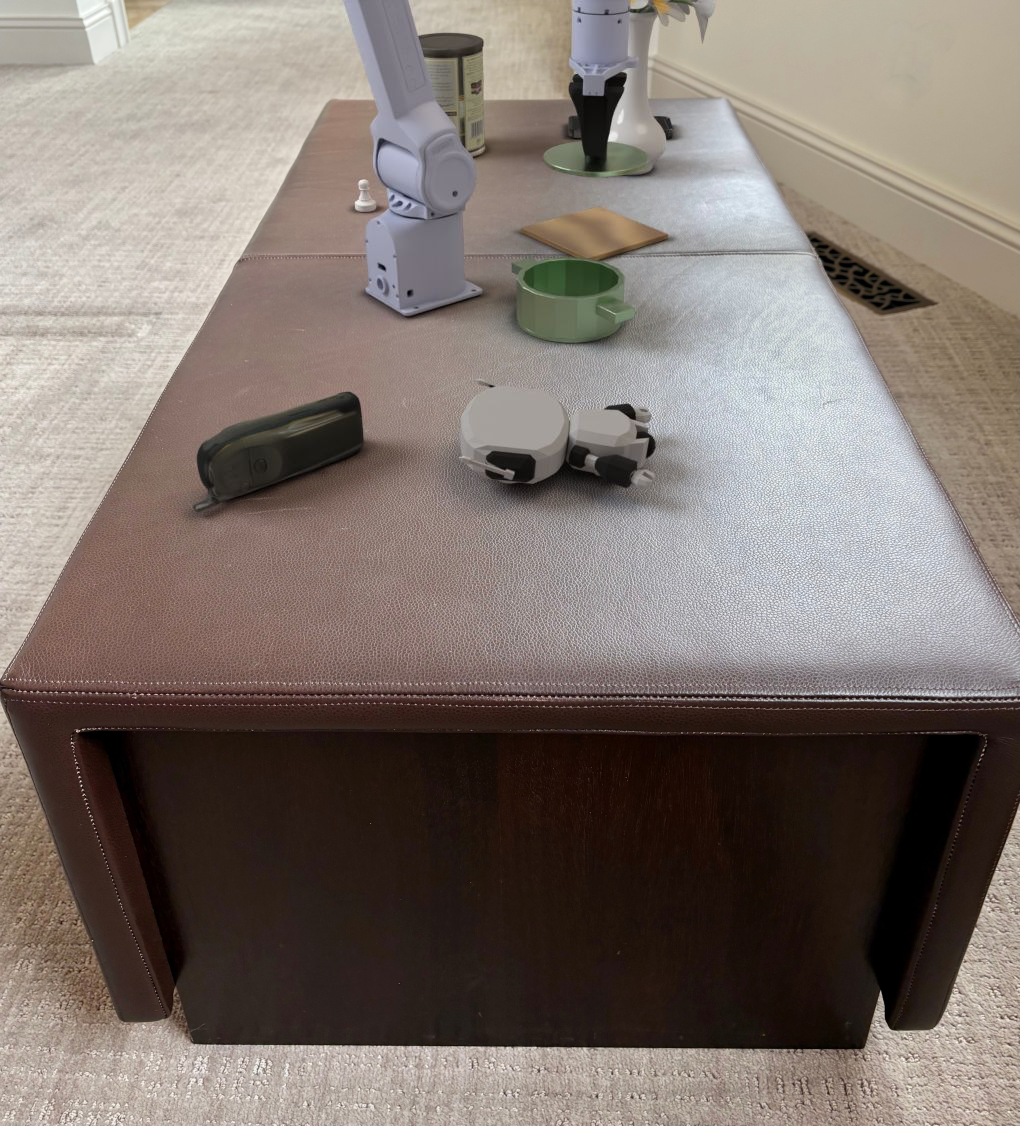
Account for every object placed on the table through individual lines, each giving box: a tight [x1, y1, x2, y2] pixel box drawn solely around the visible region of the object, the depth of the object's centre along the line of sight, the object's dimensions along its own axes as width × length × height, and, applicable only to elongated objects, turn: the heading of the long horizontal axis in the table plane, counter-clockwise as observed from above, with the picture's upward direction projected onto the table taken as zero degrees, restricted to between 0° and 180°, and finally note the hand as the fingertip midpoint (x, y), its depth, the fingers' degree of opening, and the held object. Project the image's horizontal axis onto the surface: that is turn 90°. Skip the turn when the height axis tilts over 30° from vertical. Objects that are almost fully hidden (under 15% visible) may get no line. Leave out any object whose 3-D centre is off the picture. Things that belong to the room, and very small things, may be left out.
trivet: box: [520, 205, 669, 261], centre depth 123 cm, size 12×12×1 cm
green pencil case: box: [192, 391, 365, 513], centre depth 80 cm, size 5×3×15 cm
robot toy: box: [457, 378, 657, 490], centre depth 82 cm, size 12×4×15 cm
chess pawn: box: [354, 179, 377, 213], centre depth 129 cm, size 3×3×4 cm
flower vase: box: [608, 0, 717, 176], centre depth 135 cm, size 13×18×25 cm
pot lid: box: [542, 140, 648, 179], centre depth 113 cm, size 11×11×5 cm
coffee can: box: [418, 32, 486, 158], centre depth 146 cm, size 10×10×14 cm
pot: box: [511, 256, 636, 344], centre depth 103 cm, size 10×16×4 cm, turn 37°
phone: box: [567, 115, 674, 140], centre depth 156 cm, size 8×1×15 cm
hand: (595, 151), depth 114 cm, fingers closed on pot lid, 2 cm apart
